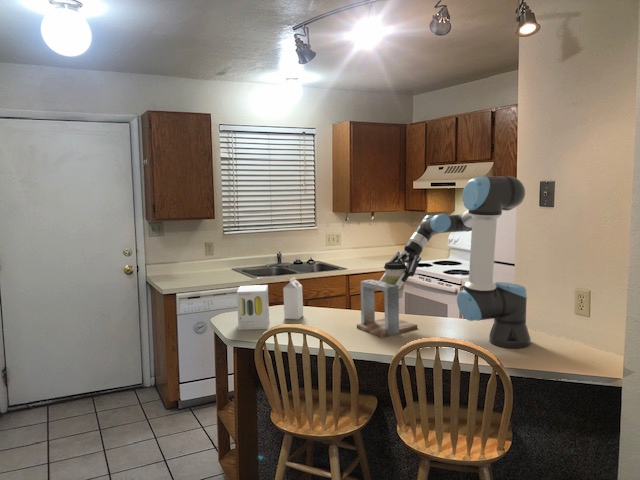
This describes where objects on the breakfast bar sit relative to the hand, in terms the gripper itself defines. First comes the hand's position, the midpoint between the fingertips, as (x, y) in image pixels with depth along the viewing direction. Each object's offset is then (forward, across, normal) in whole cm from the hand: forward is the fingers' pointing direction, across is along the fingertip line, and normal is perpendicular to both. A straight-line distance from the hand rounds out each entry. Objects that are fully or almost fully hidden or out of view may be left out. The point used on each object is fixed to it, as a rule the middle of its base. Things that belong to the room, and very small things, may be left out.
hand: (389, 284), depth 221 cm
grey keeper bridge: (+18, 0, -9) cm, 20 cm away
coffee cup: (+2, 0, -7) cm, 7 cm away
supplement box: (+46, +41, +19) cm, 64 cm away
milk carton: (+31, +41, +4) cm, 51 cm away
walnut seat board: (+15, 0, -12) cm, 19 cm away
